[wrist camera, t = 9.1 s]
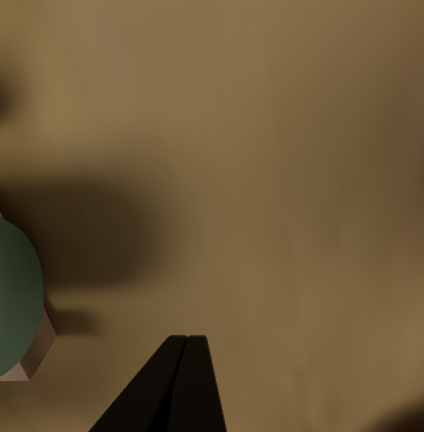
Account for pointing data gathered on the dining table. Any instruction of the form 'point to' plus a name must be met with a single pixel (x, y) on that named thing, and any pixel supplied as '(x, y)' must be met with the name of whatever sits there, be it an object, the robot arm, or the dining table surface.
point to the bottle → (18, 295)
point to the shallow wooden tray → (33, 350)
